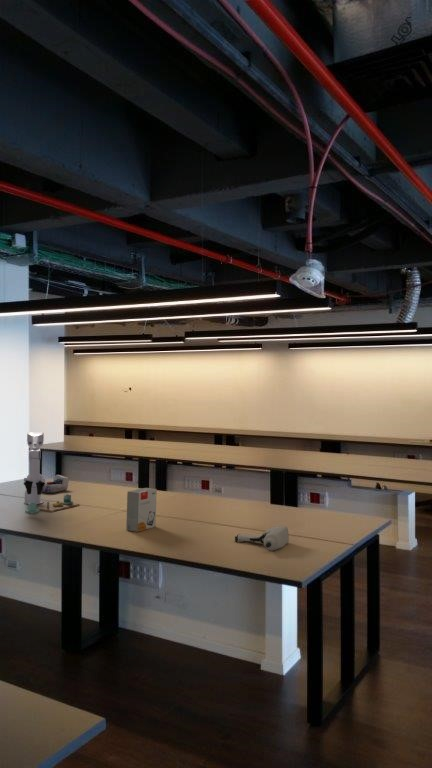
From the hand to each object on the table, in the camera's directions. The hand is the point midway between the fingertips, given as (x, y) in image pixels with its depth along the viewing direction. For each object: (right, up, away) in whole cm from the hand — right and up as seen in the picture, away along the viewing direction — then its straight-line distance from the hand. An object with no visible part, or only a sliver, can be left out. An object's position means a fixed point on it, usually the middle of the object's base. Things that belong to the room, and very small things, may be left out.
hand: (34, 494), depth 333 cm
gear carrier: (+10, -10, +13) cm, 19 cm away
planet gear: (-1, -10, 0) cm, 10 cm away
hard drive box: (+67, -11, -35) cm, 76 cm away
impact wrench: (+125, -12, -64) cm, 141 cm away
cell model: (-7, -11, +65) cm, 66 cm away
